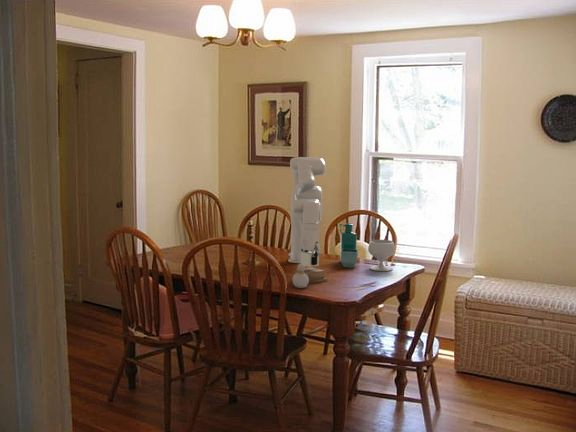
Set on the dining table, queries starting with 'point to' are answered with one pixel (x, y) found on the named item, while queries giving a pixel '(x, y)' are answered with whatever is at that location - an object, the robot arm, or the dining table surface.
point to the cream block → (308, 259)
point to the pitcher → (348, 238)
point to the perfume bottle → (300, 277)
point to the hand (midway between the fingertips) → (310, 263)
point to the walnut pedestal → (314, 275)
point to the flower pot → (349, 257)
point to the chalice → (381, 252)
